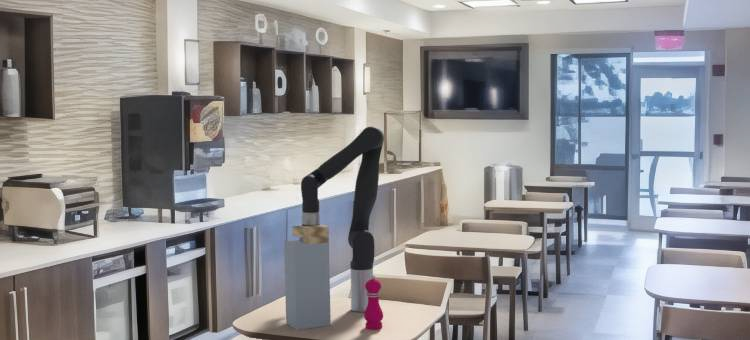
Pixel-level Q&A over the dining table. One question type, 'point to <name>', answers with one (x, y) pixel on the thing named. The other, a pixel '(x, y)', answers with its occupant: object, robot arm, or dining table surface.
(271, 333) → the dining table surface
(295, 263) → the stand
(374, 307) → the pepper mill
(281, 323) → the dining table surface
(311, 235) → the t key
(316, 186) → the robot arm
